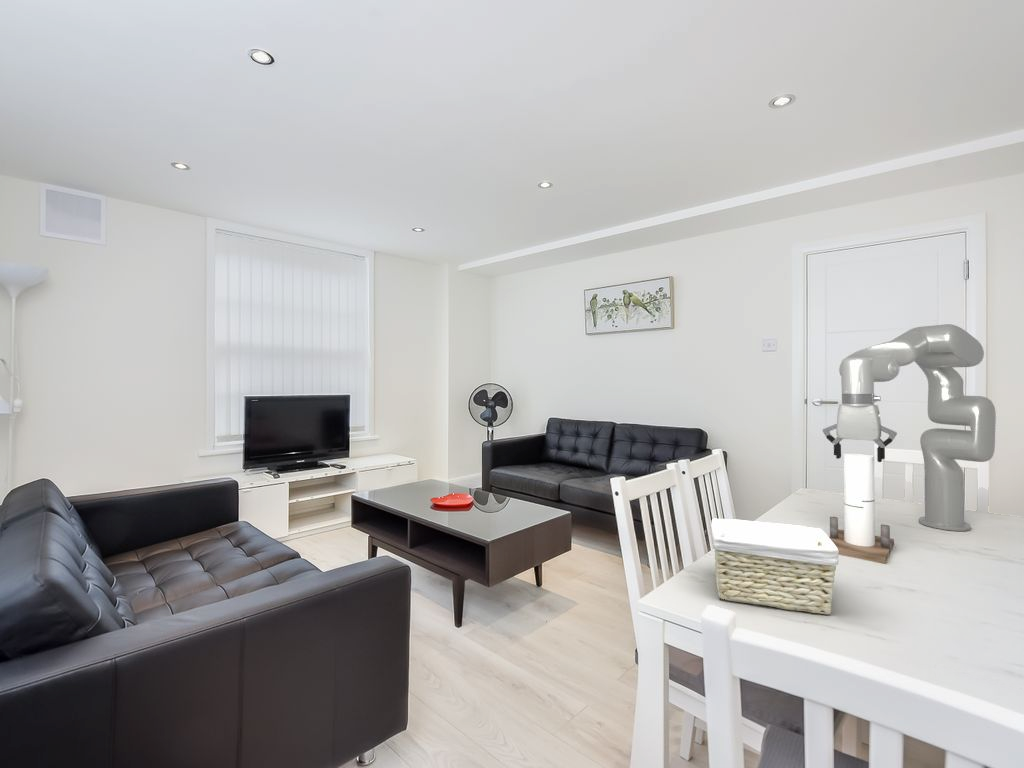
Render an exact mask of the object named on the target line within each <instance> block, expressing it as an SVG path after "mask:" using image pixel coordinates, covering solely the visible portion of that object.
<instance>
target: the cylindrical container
mask: <svg viewBox="0 0 1024 768" xmlns="http://www.w3.org/2000/svg"><path fill="white" fill-rule="evenodd" d="M842 455H843V458H842V459H843V460H842V462H843V466H842V467H843V528H844V529H843V530H844V541H845V542H847V543H850V544H853V545H858V546H868V547H869V546H874V545H875V536H876V520H875V519H876V516H875V515H876V511H875V509H876V507H875V505H876V503H875V501H876V500H875V499H876V498H875V494H876V493H875V456H874V455H873V454H865V453H851V452H850V453H843V454H842Z"/></svg>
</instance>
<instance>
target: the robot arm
mask: <svg viewBox="0 0 1024 768" xmlns="http://www.w3.org/2000/svg"><path fill="white" fill-rule="evenodd" d="M984 357H985V350H984V347H983V346H982V344H981V343H980V341H979V340H978V339H976V338H975V337H974V336H973V335H971V334H970V333H969V332H968V331H966V330H965V329H964V328H962V327H960V326H958V325H955V324H950V323H949V324H945V323H944V324H935V325H925V326H924V325H923V326H918V327H913V328H911V329H909V330H907V331H906V332H904V333H902V334H900V335H899V336H897V337H895V338H894V339H892V340H889V341H887V342H886V341H885V342H882V343H879V344H876V345H873V346H869V347H866V348H863V349H862V348H861V349H859V350H857V351H855V352H853V353H850V354H849V355H847V356H846V357H845V358H843V359H842V360H841V363H840V364H839V368H838V371H839V375H840V378H841V380H840V381H841V384H840V385H841V404H838V409H837V416H836V423H835V424H833V425H831V426H827V427H825V428H822V432H823V434H824V436H825V437H826V439H827V440H828V441H829V442H830V443H832V445H833V456H835V458H836V459H837V460H838V459H841V458H842V445H841V443H840V442H841V441H842V440H854V441H869V442H871V441H873V442H874V443H875V444H876V445H878V447H876V451H877V455H876V456H877V457H876V460H877V462H878V463H881V462H883V460H885V458H886V455H885V454H886V450H885V449H886V448H885V447H887V446H888V445H890V444H891V443H892V442H893V441H894V440H895V438H896V436H897V435H898V432H897V431H894V430H893V429H890V428H888V427H886V426H883V425H882V423H881V422H882V421H881V414H880V410H879V409H880V408H879V405H877V404H875V403H876V402H880V401H882V400H881V397H882V396H879V395H878V396H877V395H875V383H885V382H890V381H892V380H895V379H896V378H897V376H898V375H899V372H900V369H901V368H900V367H904V366H905V367H906V366H908V365H911V364H913V363H915V364H916V365H917V366H918V367H919V368H920V370H922V372H923V374H924V375H925V377H926V379H927V384H928V389H927V417H928V419H929V421H931V422H932V423H935V424H939V425H950V426H962V427H963V426H964V427H969V429H970V430H968V429H957V428H956V429H955V428H944V427H943V428H942V427H941V428H940V427H938V428H937V427H935V428H929V429H926V430H925V431H923V433H922V434H921V436H920V438H919V442H920V443H919V445H920V449H921V452H922V456H923V466H924V468H923V469H924V516H921V517H918V522H919V523H920V524H921V525H924V526H927V527H930V528H933V529H937V530H945V531H954V532H968V531H970V530H971V529H972V525H971V524H970V523H968V522H965V473H964V471H963V468H962V467H961V465H959V463H958V462H957V460H958V461H965V462H966V461H967V462H977V463H984V462H988V461H990V460H991V459H992V458H993V456H994V454H995V448H996V447H995V446H996V424H997V423H996V422H997V415H996V414H997V413H996V408H995V405H994V403H993V401H992V400H991V399H990V398H988V397H985V396H980V395H965V394H964V380H963V377H962V376H961V374H960V373H959V372H958V371H957V370H956V369H954V368H971V367H975V366H977V365H979V364H981V363H982V362H983V359H984ZM834 430H836V436H837V437H836V438H835V437H834V436H833V435H832V434H831V431H834ZM882 432H883V433H886V434H887V435H888V437H887V438H885V440H883V439H882V438H881V437H882Z"/></svg>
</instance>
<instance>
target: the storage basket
mask: <svg viewBox="0 0 1024 768" xmlns="http://www.w3.org/2000/svg"><path fill="white" fill-rule="evenodd" d="M710 530H711V540H712V545H713V549H714V559H715V560H714V561H715V563H714V564H715V565H714V566H715V581H716V589H717V596H718V598H719V599H720V598H721V599H720V600H724V599H725V600H724V601H730V602H738V603H744V604H745V603H747V604H752V605H759V606H761V605H762V606H768V607H772V608H773V607H775V608H777V609H782V610H785V611H799V612H807V613H813V614H822V615H830V614H831V612H832V609H831V608H832V601H833V595H834V594H833V593H834V584H835V576H836V570H837V567H838V565H839V554H838V553H839V552H838V549H837V547H836V546H835V544H834V543H833V542H832V541H831V540H830V536H828V535H827V533H826V532H825V531H823V529H822V528H818V527H817V528H815V527H810V526H809V527H808V526H804V525H795V524H786V523H776V522H773V523H772V522H766V521H764V522H763V521H753V520H745V519H744V520H743V519H734V518H733V519H732V518H731V519H730V518H727V519H726V518H717V517H716V518H714V517H713V518H712V520H711V526H710Z"/></svg>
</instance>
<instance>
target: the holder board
mask: <svg viewBox="0 0 1024 768" xmlns="http://www.w3.org/2000/svg"><path fill="white" fill-rule="evenodd" d="M829 538H830V540H831V541H832V542H833V543H834V544H835V546H836V547H837V549H838V552H839V553H838V555H841V556H846V557H849V558H850V557H851V558H855V559H860V560H864V561H870V562H874V563H875V562H876V563H880V564H887V561H888V559H889V557H890V554H891V553H892V550H893V547H894V545H895V539H894V538H891V526H890V525H888V524H880V536H879V535H875V545H874V546H869V547H868V546H858V545H853V544H850V543H847V542H845V541H844V529H840V528H839V517H837V516H829Z"/></svg>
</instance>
